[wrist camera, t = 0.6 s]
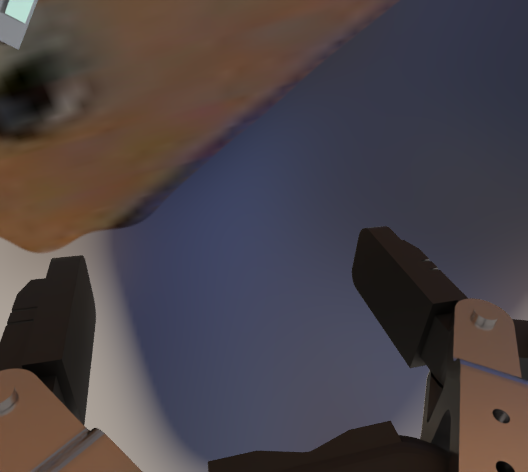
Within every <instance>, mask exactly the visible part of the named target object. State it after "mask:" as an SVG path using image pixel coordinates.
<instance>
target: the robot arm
mask: <svg viewBox="0 0 528 472" xmlns="http://www.w3.org/2000/svg"><path fill="white" fill-rule="evenodd" d="M352 278H353V283H354V285H355V287H356V289H357V291H358V292H359V294H360V295H361V296H362V298H363V299H364V301H365V302H366V304H367V305H368V307H369V308H370V310H371V311H372V313H373V314H374V316H375V317H376V319H377V320H378V321H379V323H380V324H381V326H382V327H383V329H384V330H385V332H386V333H387V335H388V336H389V338H390V339H391V341H392V342H393V344H394V345H395V347H396V348H397V350H398V351H399V353H400V354H401V356H402V357H403V358H404V360H405V361H406V363H407V364H408V366H409V367H410V368H413V367H418V366H423V365H427V366H428V368H429V369H430V371H429V374H428V376H427V381H426V391H425V401H424V412H423V421H422V430H421V436H420V439H417V438H413V437H408V436H402V435H398V434H397V432H396V430H395V428H394V426H393V425H392V423H391V421H387V422H383V423H378V424H374V425H369V426H365V427H360V428H356V429H351V430H348V431H347V432H345V433H343V434H341V435H339V436H338V437H336V438H334V439H332V440H330V441H329V442H327V443H325V444H323V445H321V446H320V447H318V448H316V449H314V450H312V451H310V452H303V453H302V452H277V451H253V452H249V453H245V454H240V455H235V456H231V457H227V458H222V459H218V460H213V461H209V462H208V472H528V321H525V320H515V319H511V317H510V316H509V315H508V314H507V313H506V312H505V311H504V310H502V309H501V308H499V307H498V306H496V305H494V304H492V303H490V302H487V301H484V300H480V299H468V298H467V297H466V296H465V295H464V294H463V293H462V292H461V291H460V290H459V289H458V288H457V287H456V286H455V285H454V284H453V283H452V282H451V281H450V280H449V279H448V278H447V277H446V276H445V275H444V274H443V273H442V272H441V270H438V268H437V266H436V265H435V264H434V263H433V262H431V261H429V258H428V257H427V256H426V255H425V254H423V252H422V251H421V250H420V249H419V248H417V247H415V246H413V245H411V244H410V243H408V242H406V241H405V240H401V239H400V238H399V237H398V236H397V235H396V234H395V233H394V232H393V231H392V230H391V229H390V228H389V227H387V226H383V227H372V228H364V229H362V230H361V232H360V234H359V238H358V243H357V247H356V252H355V257H354V263H353V267H352ZM95 323H96V311H95V303H94V297H93V292H92V288H91V284H90V279H89V275H88V270H87V266H86V262H85V258H84V256H72V257H61V258H52V259H51V262H50V265H49V269H48V273H47V276H46V278H44V279H35V280H31V281H30V282H29V283H28V284H27V285H26V286H25V287H24V288H23V289H22V290H21V291H20V292H19V293H18V294H17V296H16V300H15V302H14V305H13V308H12V313H10V316H9V319H8V322H7V326H6V327H5V330H4V333H3V336H2V339H1V342H0V472H142V471H141V470H140V469H139V468H138V467H137V466H136V465H135V464H134V463H133V462H132V461H131V460H130V459H129V458H128V457H127V456H126V455H125V453H123V451H122V450H120V448H119V447H118V446H117V445H116V444H115V443H114V442H113V441H112V440H111V439H110V438H109V437H108V436H107V435H106V434H105V433H103V432H102V431H101V430H99V429H97V428H94V429H92V430H91V431H90V430H88V429H87V428H86V427H85V426H84V423H85V414H86V405H87V395H88V387H89V378H90V369H91V360H92V351H93V342H94V332H95Z"/></svg>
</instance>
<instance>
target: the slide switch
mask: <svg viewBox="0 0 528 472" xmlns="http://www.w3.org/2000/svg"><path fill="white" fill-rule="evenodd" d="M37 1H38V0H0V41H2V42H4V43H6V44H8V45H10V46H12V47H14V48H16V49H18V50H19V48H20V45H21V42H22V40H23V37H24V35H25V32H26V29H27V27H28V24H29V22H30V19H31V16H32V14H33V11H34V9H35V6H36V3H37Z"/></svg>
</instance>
